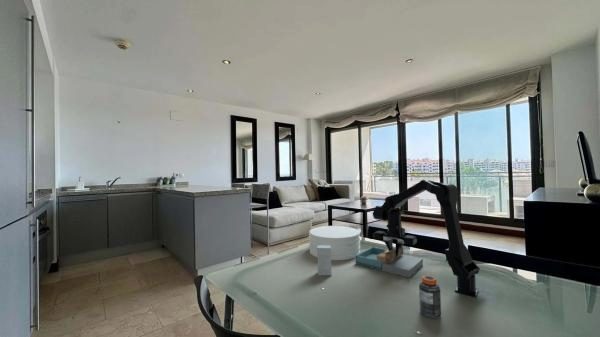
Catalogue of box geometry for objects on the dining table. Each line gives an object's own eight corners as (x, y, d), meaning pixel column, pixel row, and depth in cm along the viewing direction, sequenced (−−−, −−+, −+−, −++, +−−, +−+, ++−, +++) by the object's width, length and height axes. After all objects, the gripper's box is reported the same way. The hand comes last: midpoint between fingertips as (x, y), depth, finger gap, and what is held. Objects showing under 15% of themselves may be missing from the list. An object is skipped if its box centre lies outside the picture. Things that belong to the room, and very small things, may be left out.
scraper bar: (390, 263, 113) (389, 254, 113) (385, 262, 114) (385, 253, 114) (403, 253, 125) (402, 245, 125) (399, 253, 126) (398, 245, 126)
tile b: (393, 257, 121) (393, 252, 121) (384, 257, 124) (383, 252, 124) (398, 255, 125) (397, 250, 125) (388, 254, 128) (387, 249, 128)
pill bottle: (434, 308, 83) (433, 273, 83) (445, 318, 77) (444, 281, 77) (416, 308, 83) (415, 274, 83) (425, 319, 77) (425, 281, 77)
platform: (409, 277, 106) (409, 270, 106) (382, 270, 114) (381, 263, 114) (422, 265, 120) (422, 258, 120) (397, 259, 128) (397, 253, 128)
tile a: (387, 262, 115) (386, 257, 116) (377, 261, 119) (376, 255, 119) (391, 259, 119) (391, 254, 119) (381, 258, 122) (381, 253, 123)
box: (381, 270, 114) (381, 261, 114) (355, 263, 123) (355, 255, 123) (396, 259, 128) (396, 251, 128) (372, 254, 136) (372, 246, 136)
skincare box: (331, 271, 114) (330, 245, 114) (331, 275, 110) (331, 248, 110) (317, 271, 114) (317, 245, 115) (317, 275, 110) (317, 247, 110)
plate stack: (301, 248, 149) (301, 229, 149) (341, 242, 161) (341, 224, 161) (326, 264, 124) (325, 240, 124) (371, 255, 136) (370, 233, 136)
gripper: (420, 222, 119) (421, 255, 119) (382, 217, 132) (382, 247, 132) (412, 226, 111) (413, 262, 111) (372, 221, 123) (373, 253, 123)
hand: (394, 255), depth 119 cm, fingers closed on scraper bar, 2 cm apart
